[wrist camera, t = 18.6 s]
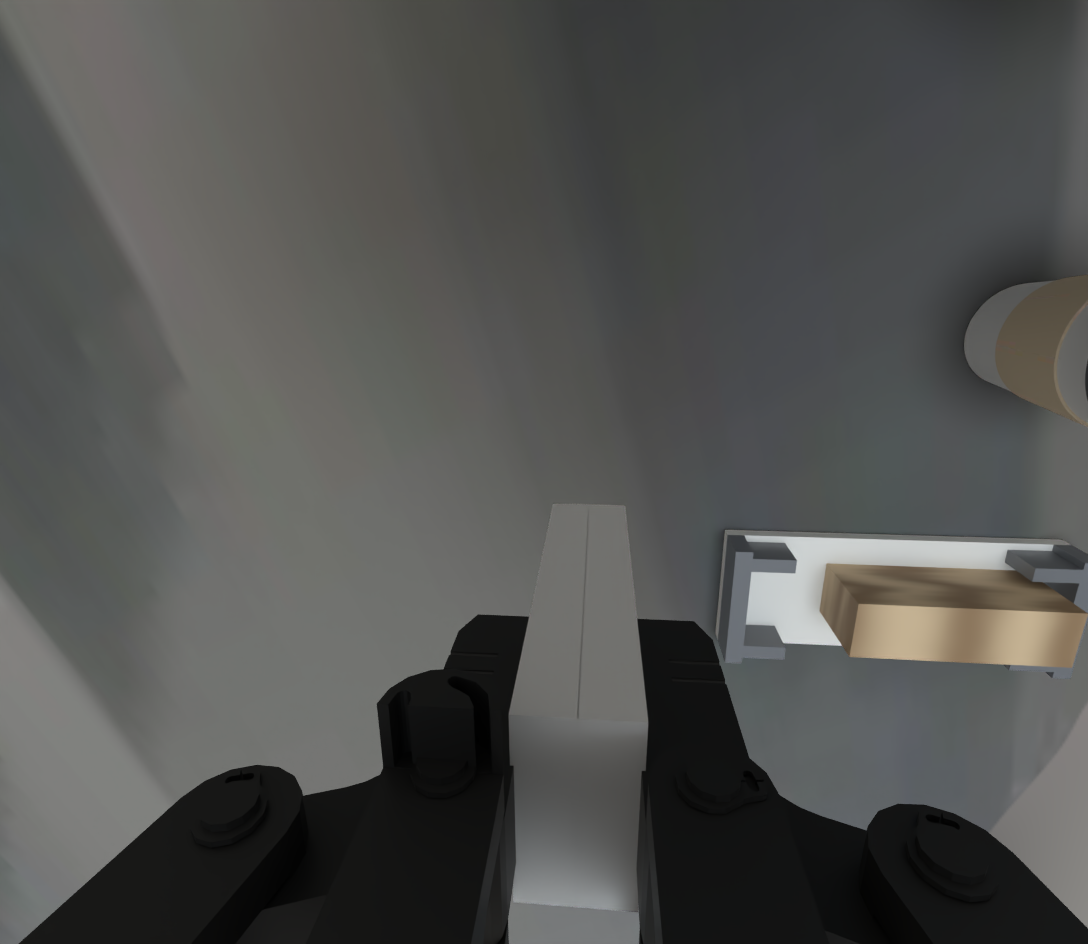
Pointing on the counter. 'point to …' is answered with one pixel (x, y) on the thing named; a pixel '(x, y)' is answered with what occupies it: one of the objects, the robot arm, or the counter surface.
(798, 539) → the holder
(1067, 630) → the tan rectangular block
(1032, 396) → the coffee cup
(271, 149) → the counter surface
